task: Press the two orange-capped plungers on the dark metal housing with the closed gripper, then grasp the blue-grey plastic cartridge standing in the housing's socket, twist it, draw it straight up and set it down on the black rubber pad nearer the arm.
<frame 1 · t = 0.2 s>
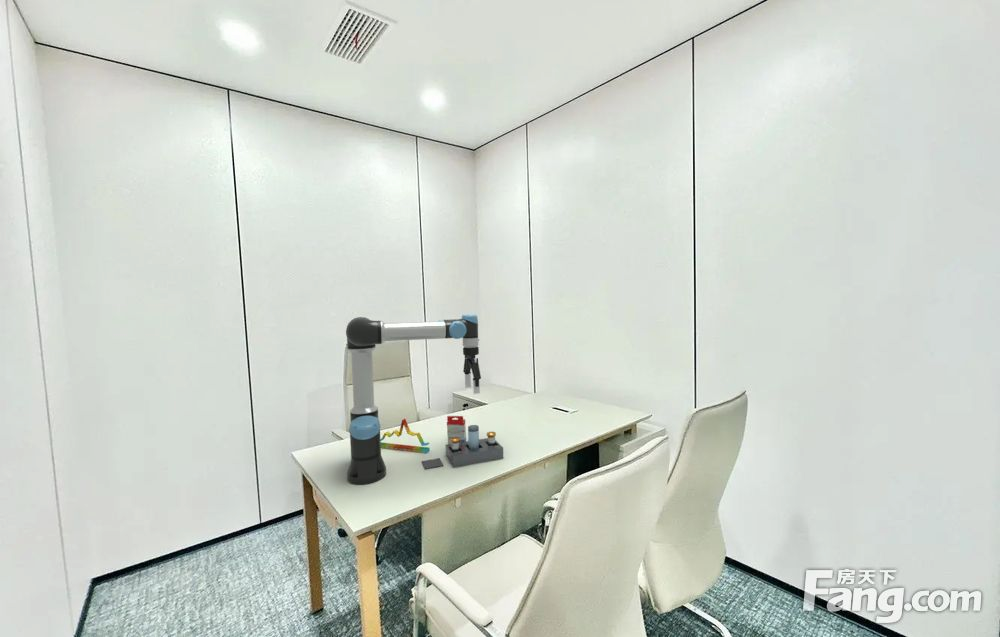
hand: (472, 390, 188), 27 cm above the table, fingers open, 13 cm apart
housing: (474, 457, 177), on the table
chart: (400, 450, 189), on the table
cartridge: (473, 441, 176), in the housing
plunger near: (455, 447, 174), point 6 cm above the table, slide at 0.0 cm
ink box: (457, 444, 194), on the table
plunger far: (491, 441, 180), point 6 cm above the table, slide at 0.0 cm
pad: (432, 464, 170), on the table
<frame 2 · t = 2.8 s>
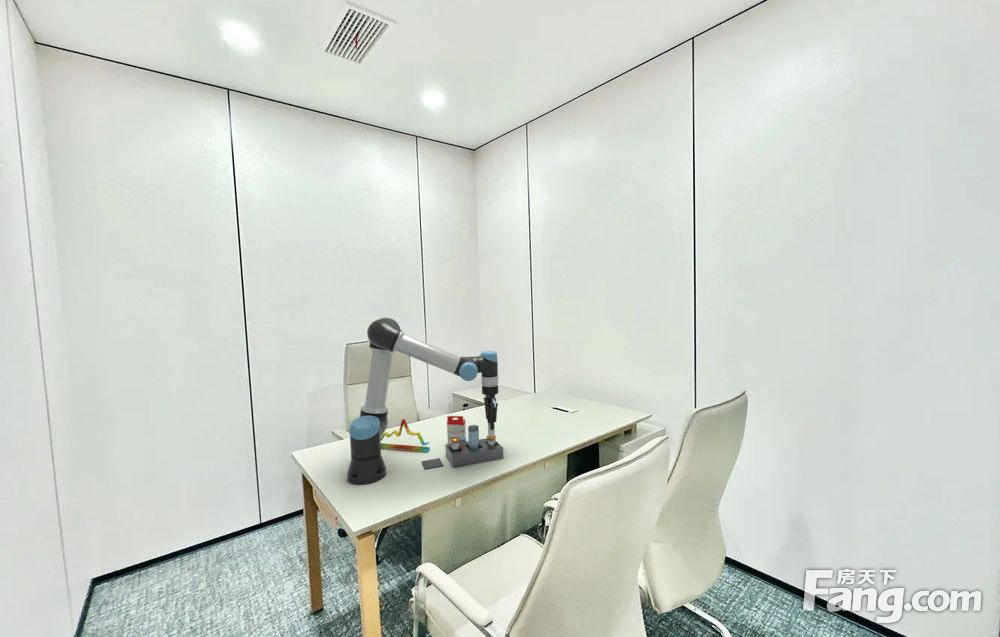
hand: (491, 435, 179), 9 cm above the table, fingers closed
plunger far: (491, 444, 180), point 4 cm above the table, slide at 1.5 cm, touching gripper
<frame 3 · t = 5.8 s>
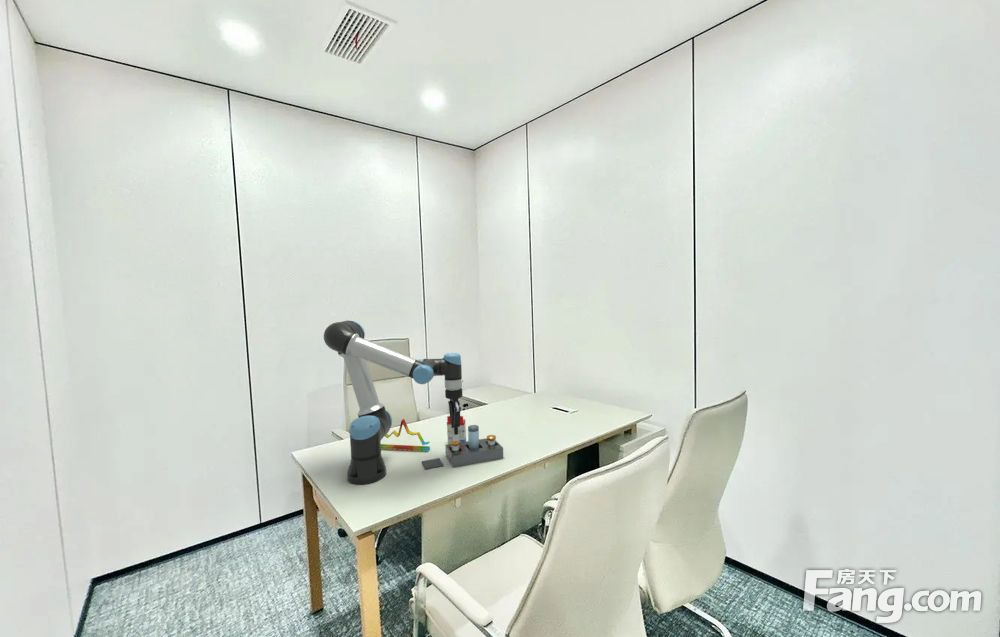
hand: (455, 440, 173), 9 cm above the table, fingers closed
plunger near: (455, 449, 174), point 5 cm above the table, slide at 1.2 cm, touching gripper
plunger far: (491, 444, 180), point 4 cm above the table, slide at 1.6 cm
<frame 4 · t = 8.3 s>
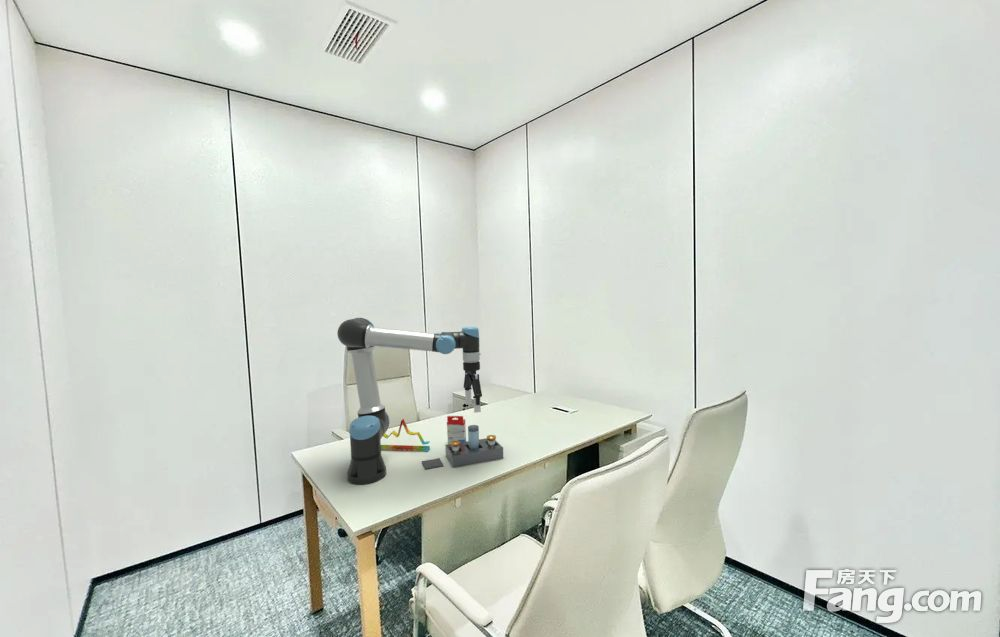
hand: (472, 408, 176), 22 cm above the table, fingers open, 13 cm apart
plunger near: (455, 450, 174), point 4 cm above the table, slide at 1.6 cm
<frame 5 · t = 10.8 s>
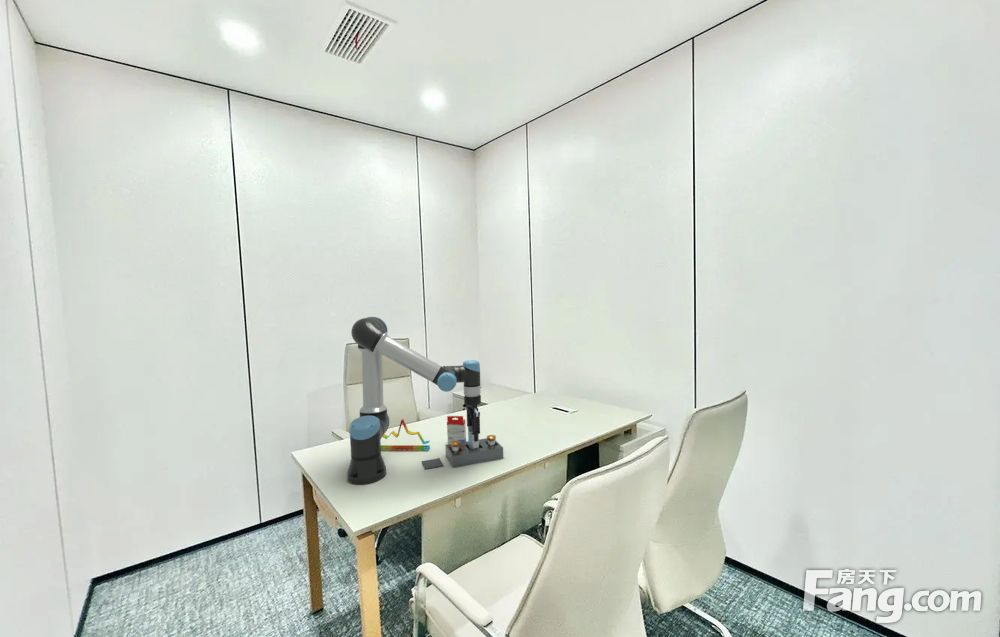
hand: (473, 445, 177), 5 cm above the table, fingers closed on cartridge, 5 cm apart
cartridge: (473, 441, 176), in the housing, touching gripper
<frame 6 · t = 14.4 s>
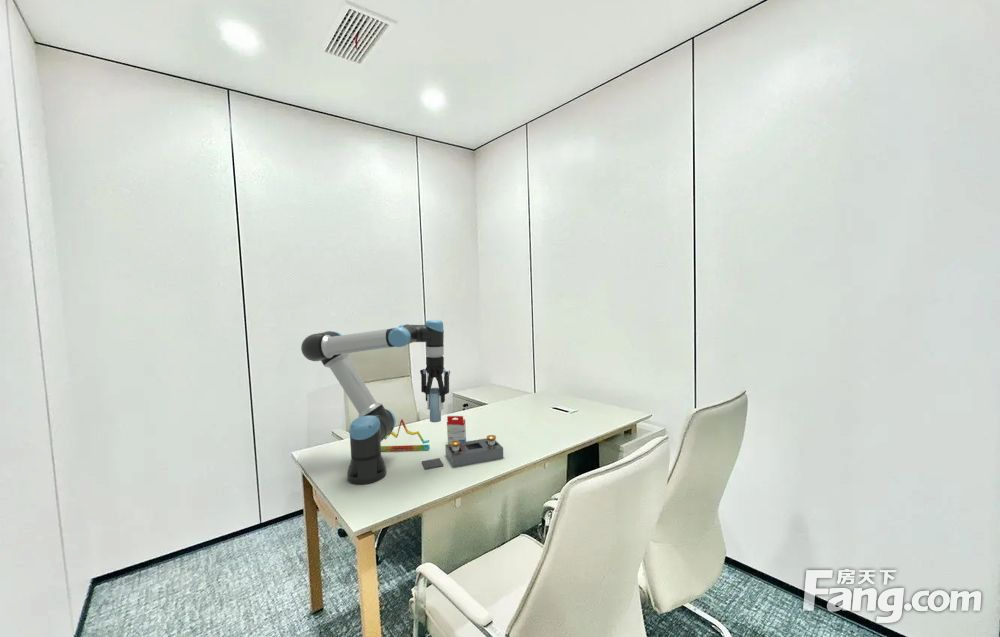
hand: (435, 409, 170), 24 cm above the table, fingers closed on cartridge, 5 cm apart
cartridge: (435, 404, 170), point 26 cm above the table, touching gripper
when the fingers open (7 cm above the table, at t = 18.3 s): cartridge drops 1 cm, resting on pad.
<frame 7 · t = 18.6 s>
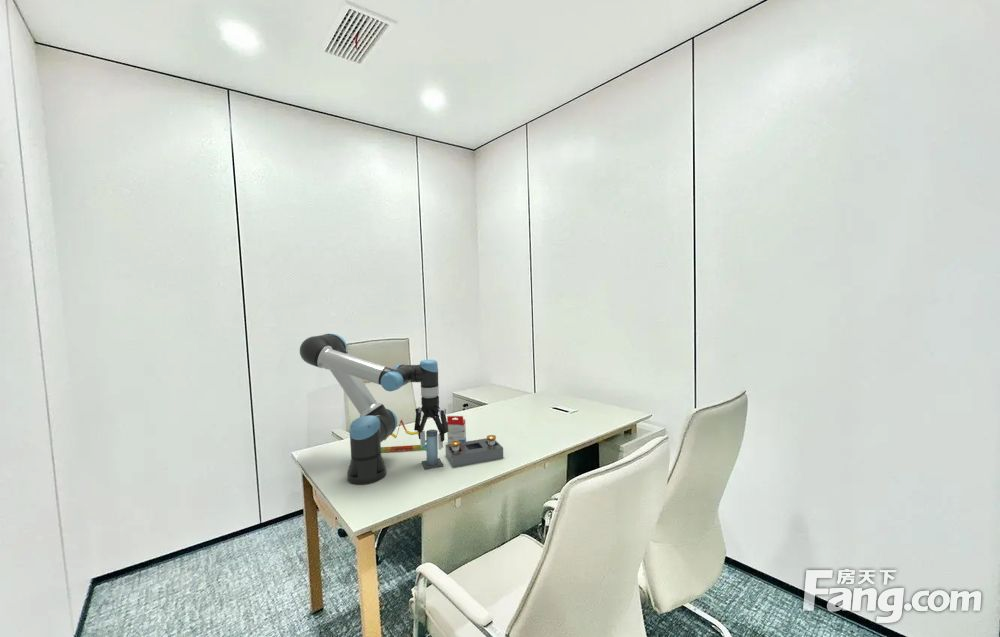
hand: (431, 447, 170), 8 cm above the table, fingers open, 8 cm apart
cartridge: (432, 447, 170), on the pad, point 8 cm above the table
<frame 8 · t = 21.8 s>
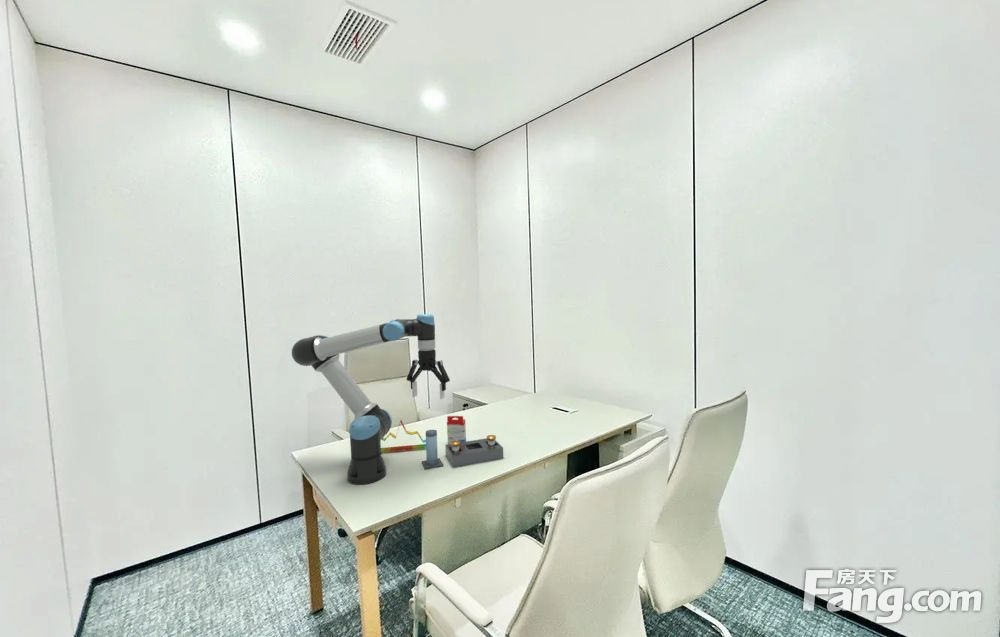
hand: (428, 397, 172), 29 cm above the table, fingers open, 13 cm apart
at the end: plunger near slide at 1.6 cm; plunger far slide at 1.6 cm; cartridge inside the target area on the pad (0.1 cm from its centre), point 7.6 cm above the pad's base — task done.
